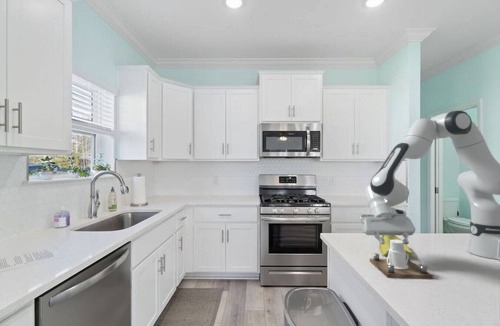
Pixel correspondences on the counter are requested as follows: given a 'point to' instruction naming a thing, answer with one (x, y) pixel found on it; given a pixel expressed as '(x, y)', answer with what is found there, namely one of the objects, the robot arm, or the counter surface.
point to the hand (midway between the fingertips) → (394, 243)
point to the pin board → (391, 272)
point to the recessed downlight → (397, 255)
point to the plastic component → (385, 247)
